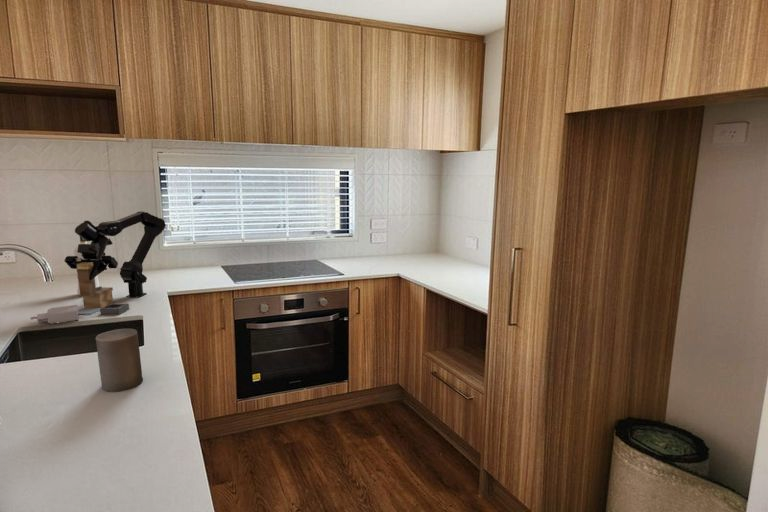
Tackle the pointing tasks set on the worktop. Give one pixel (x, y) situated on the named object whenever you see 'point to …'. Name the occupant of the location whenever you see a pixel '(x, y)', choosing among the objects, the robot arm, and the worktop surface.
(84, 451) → the worktop surface
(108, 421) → the worktop surface
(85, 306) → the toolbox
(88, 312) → the rubber mat
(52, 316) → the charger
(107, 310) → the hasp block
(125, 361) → the pillar candle
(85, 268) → the brown rectangular block
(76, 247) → the vodka
